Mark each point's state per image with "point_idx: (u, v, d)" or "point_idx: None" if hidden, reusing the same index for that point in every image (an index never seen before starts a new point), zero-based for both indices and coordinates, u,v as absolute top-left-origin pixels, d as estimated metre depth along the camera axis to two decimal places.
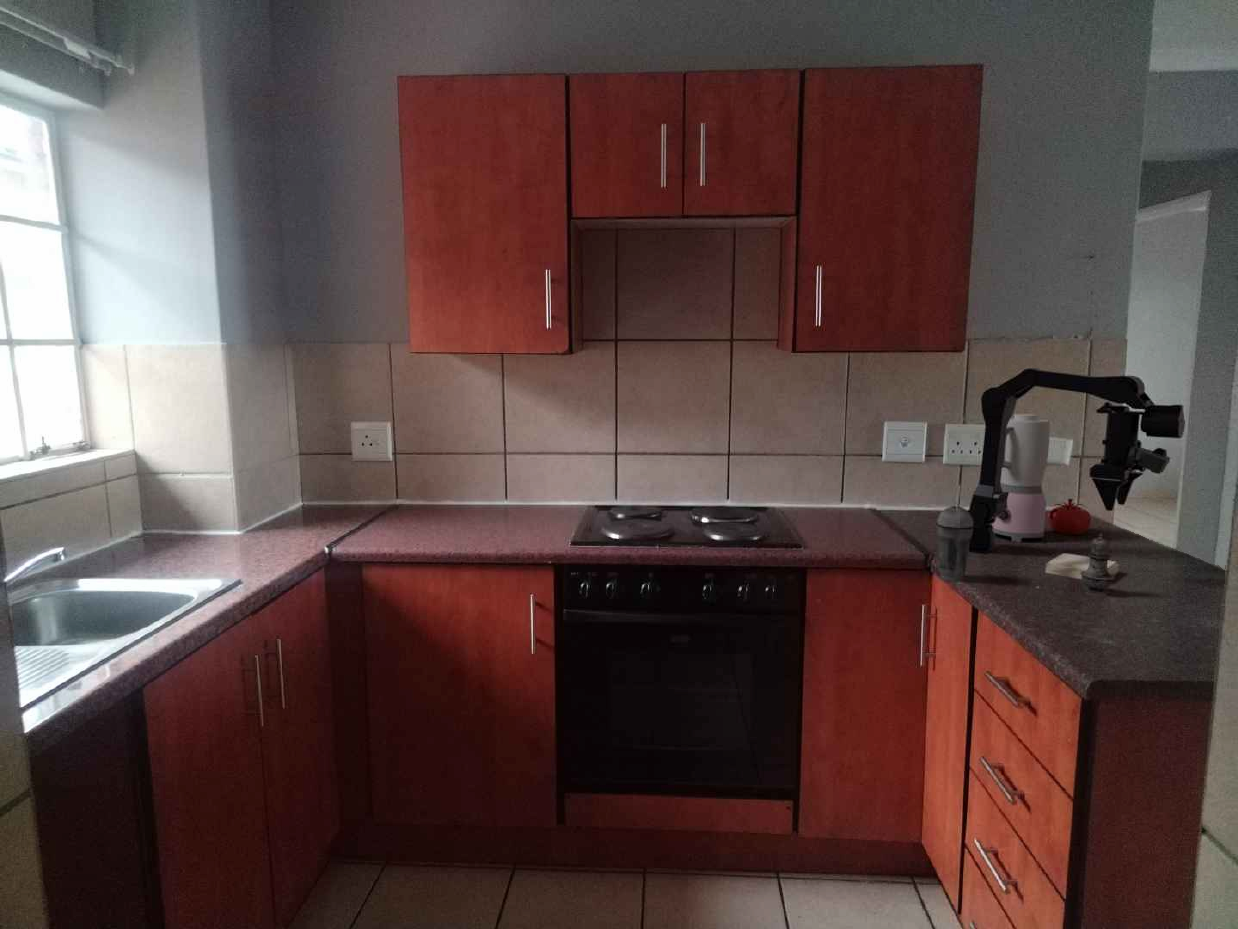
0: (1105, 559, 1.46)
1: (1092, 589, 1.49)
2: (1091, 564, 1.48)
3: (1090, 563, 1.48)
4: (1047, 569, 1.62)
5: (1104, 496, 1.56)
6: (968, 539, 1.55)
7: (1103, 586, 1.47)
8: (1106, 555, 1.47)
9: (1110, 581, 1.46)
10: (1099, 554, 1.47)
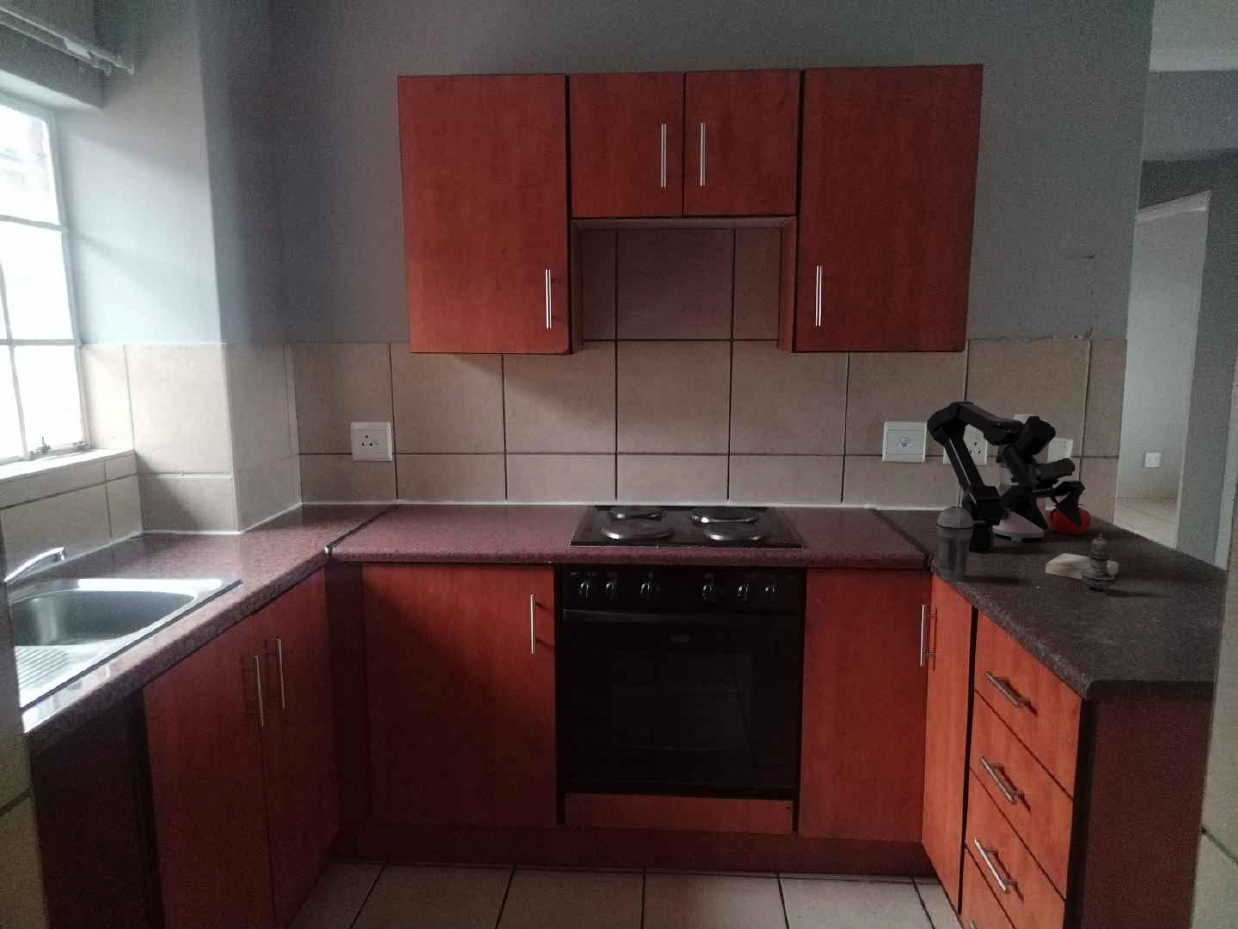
0: (1105, 559, 1.46)
1: (1092, 589, 1.49)
2: (1091, 564, 1.48)
3: (1090, 563, 1.48)
4: (1047, 569, 1.62)
5: (1032, 519, 1.56)
6: (968, 539, 1.55)
7: (1103, 586, 1.47)
8: (1106, 555, 1.47)
9: (1110, 581, 1.46)
10: (1099, 554, 1.47)
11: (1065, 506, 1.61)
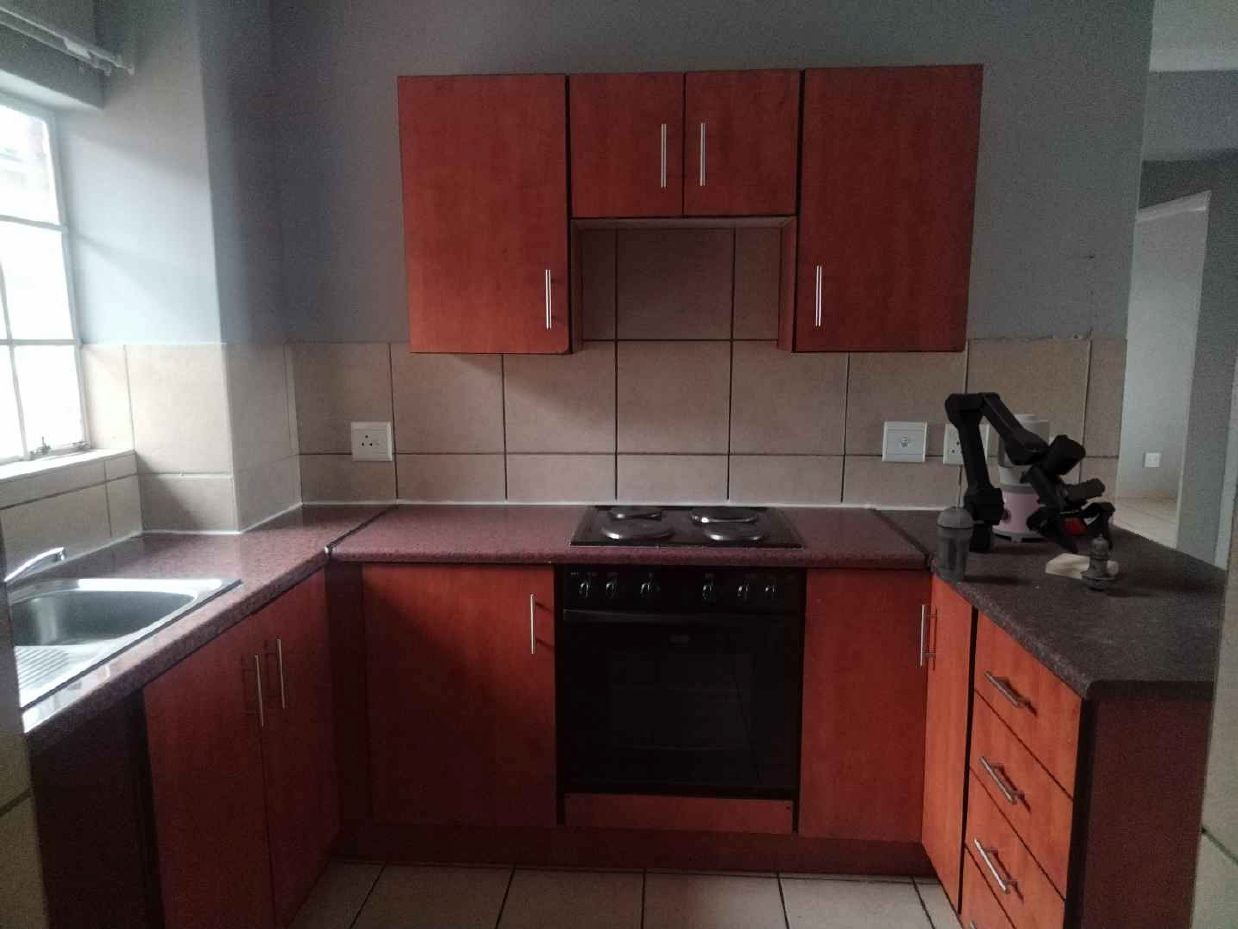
0: (1105, 559, 1.46)
1: (1092, 589, 1.49)
2: (1091, 564, 1.48)
3: (1090, 563, 1.48)
4: (1047, 569, 1.62)
5: (1061, 542, 1.50)
6: (968, 539, 1.55)
7: (1103, 586, 1.47)
8: (1106, 555, 1.47)
9: (1110, 581, 1.46)
10: (1099, 554, 1.47)
11: (1094, 529, 1.54)
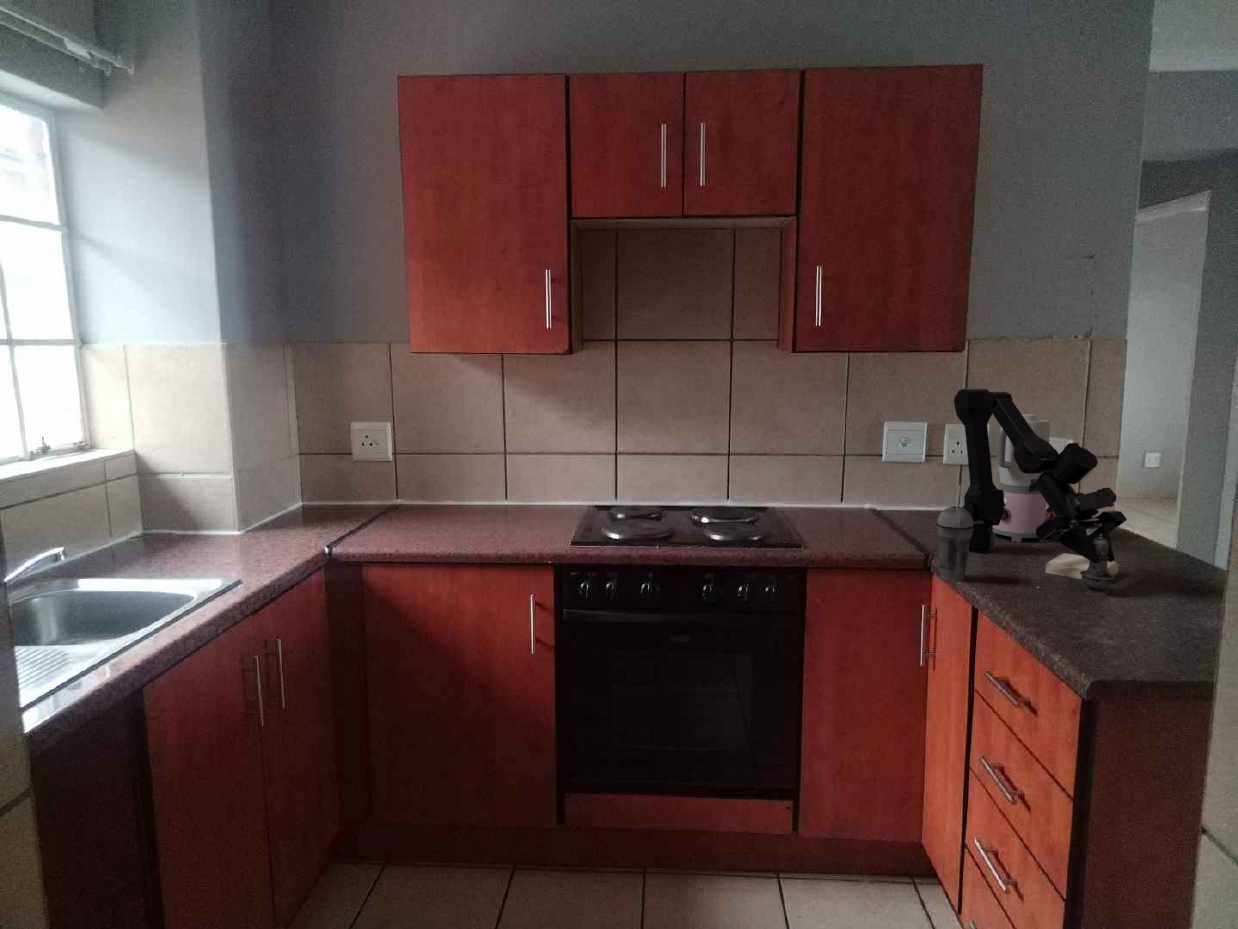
0: (1105, 559, 1.46)
1: (1092, 589, 1.48)
2: (1091, 564, 1.48)
3: (1090, 563, 1.48)
4: (1047, 569, 1.62)
5: (1081, 552, 1.48)
6: (968, 539, 1.55)
7: (1103, 586, 1.47)
8: (1106, 555, 1.47)
9: (1110, 581, 1.46)
10: (1099, 554, 1.47)
11: None
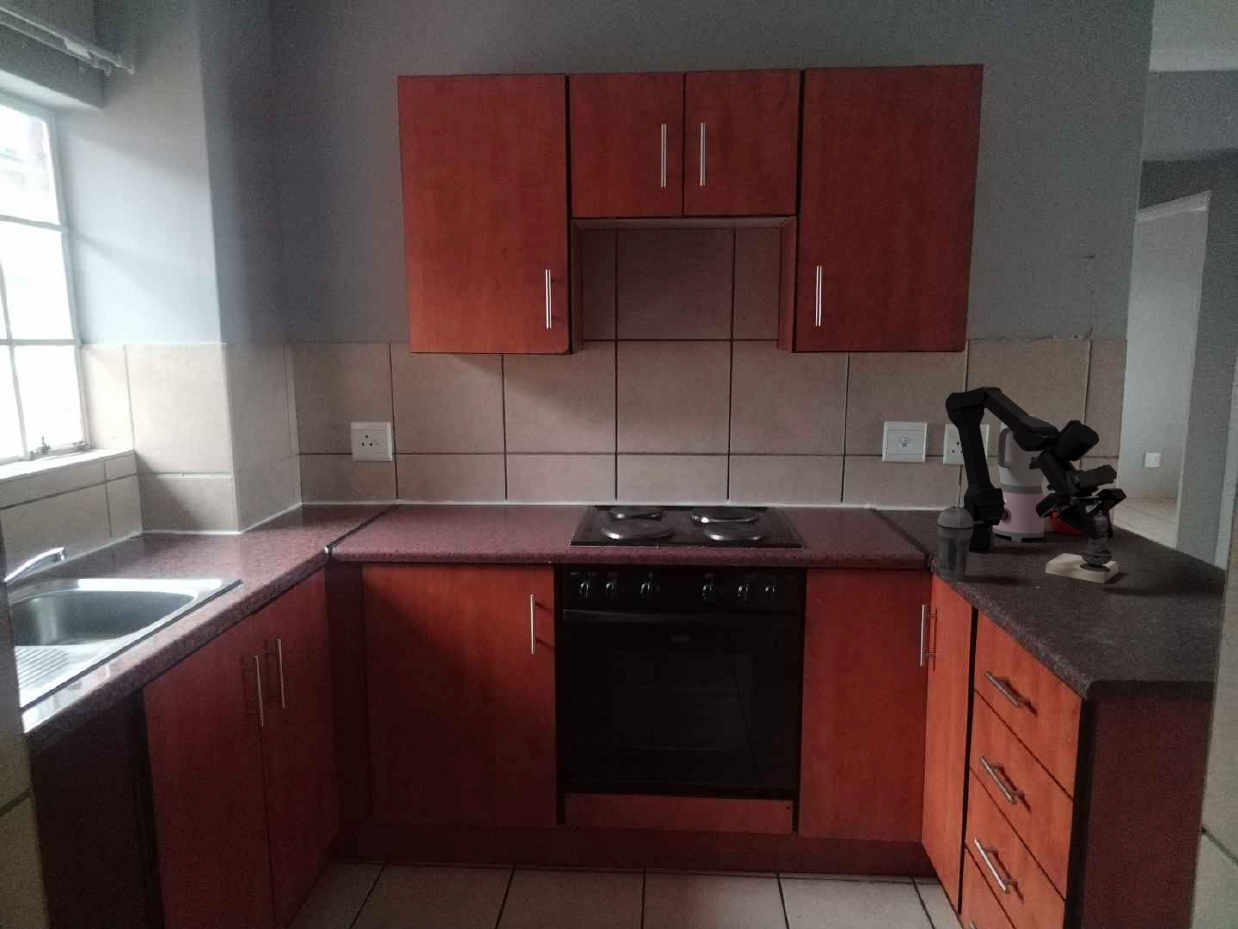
0: (1104, 535, 1.47)
1: (1091, 565, 1.49)
2: (1090, 540, 1.49)
3: (1089, 540, 1.49)
4: (1047, 569, 1.62)
5: (1081, 528, 1.49)
6: (968, 539, 1.55)
7: (1102, 562, 1.47)
8: (1106, 531, 1.47)
9: (1109, 557, 1.47)
10: (1099, 531, 1.47)
11: None
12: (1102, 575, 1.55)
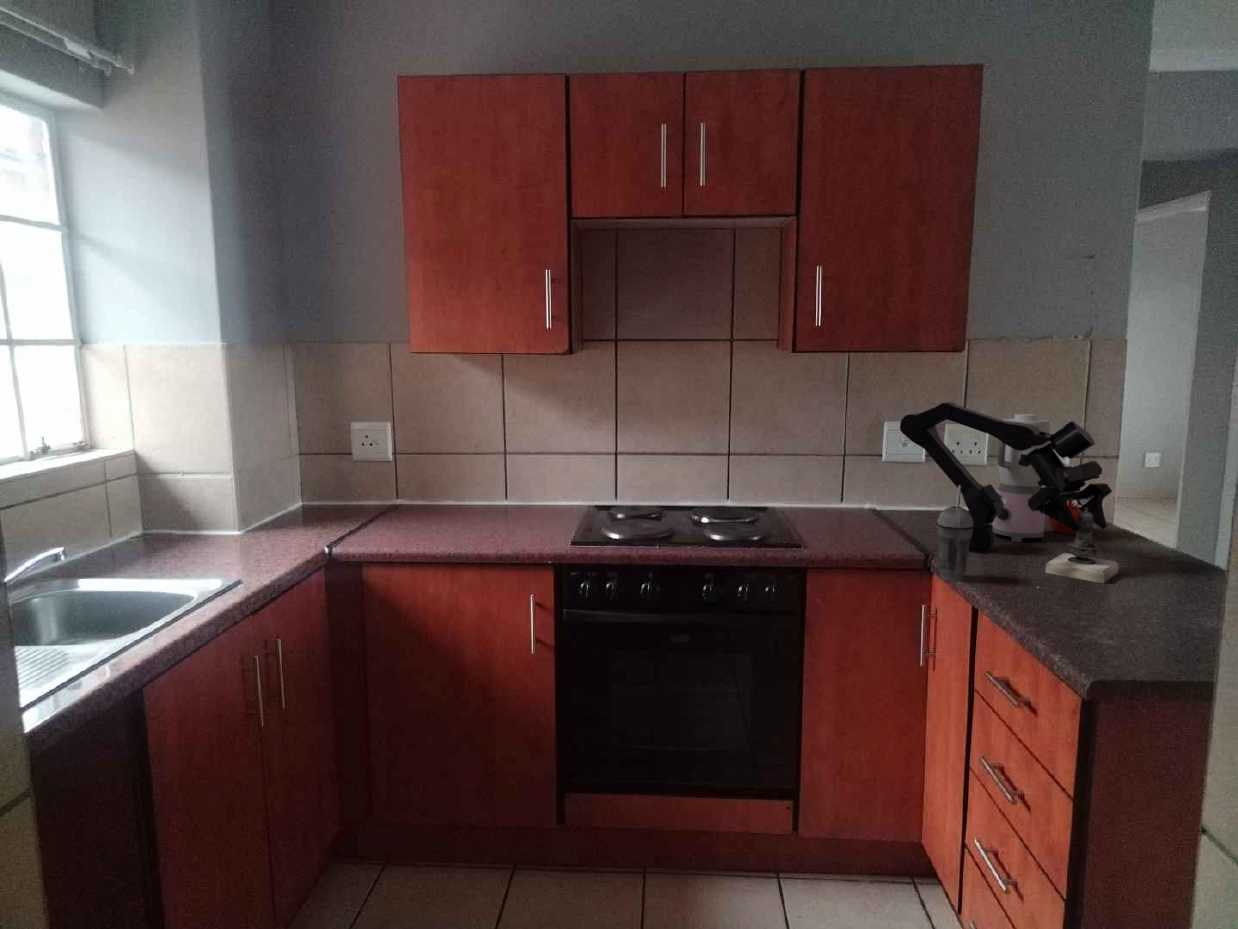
0: (1090, 530, 1.59)
1: (1078, 558, 1.61)
2: (1077, 535, 1.61)
3: (1076, 534, 1.61)
4: (1047, 569, 1.62)
5: (1063, 521, 1.60)
6: (968, 539, 1.55)
7: (1088, 555, 1.59)
8: (1091, 527, 1.60)
9: (1094, 551, 1.59)
10: (1085, 526, 1.60)
11: (1089, 509, 1.64)
12: (1102, 575, 1.55)
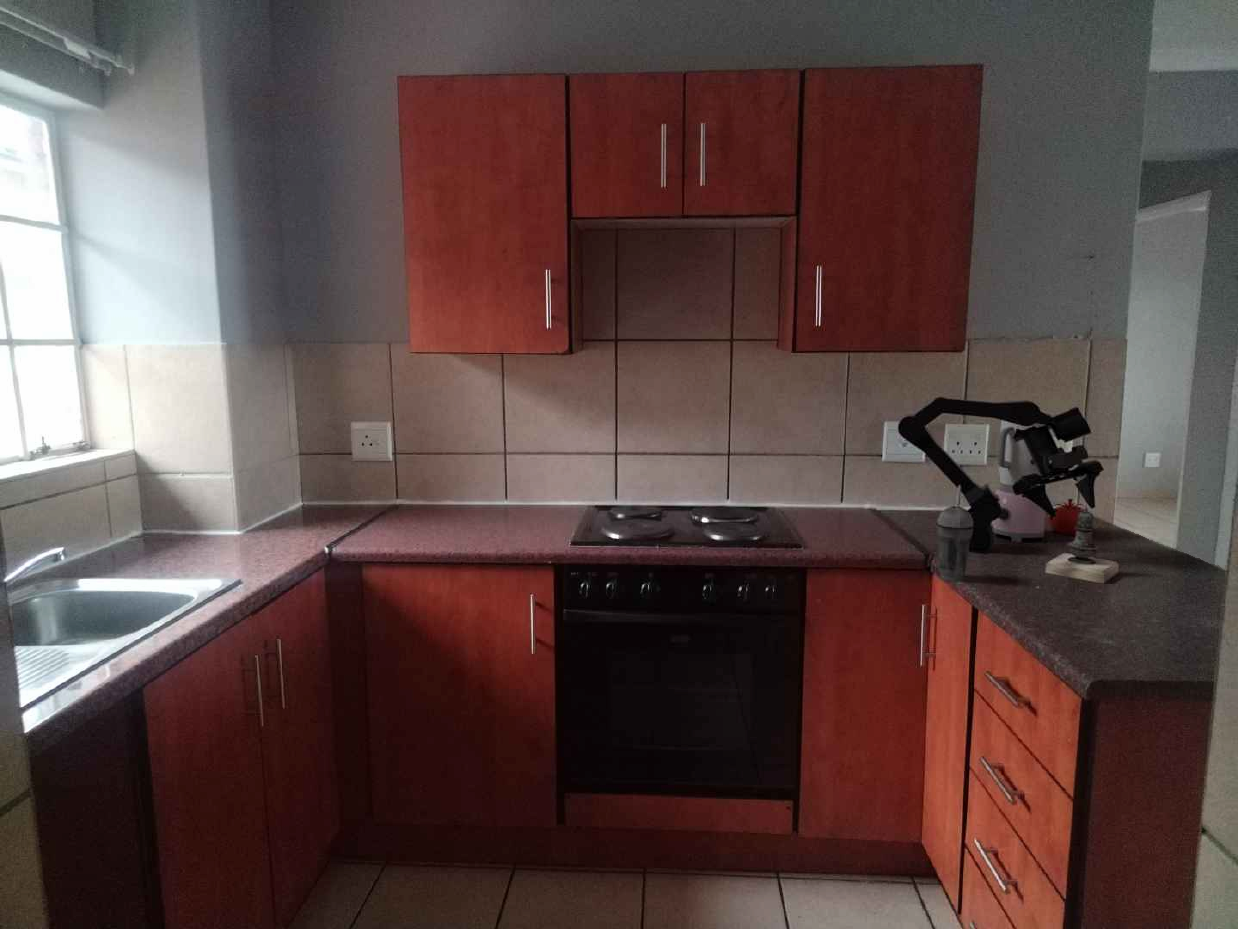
0: (1090, 530, 1.59)
1: (1078, 558, 1.61)
2: (1077, 535, 1.61)
3: (1076, 535, 1.61)
4: (1047, 569, 1.62)
5: (1042, 506, 1.68)
6: (968, 539, 1.55)
7: (1088, 555, 1.59)
8: (1091, 527, 1.60)
9: (1094, 551, 1.59)
10: (1084, 526, 1.60)
11: (1082, 487, 1.69)
12: (1102, 575, 1.55)
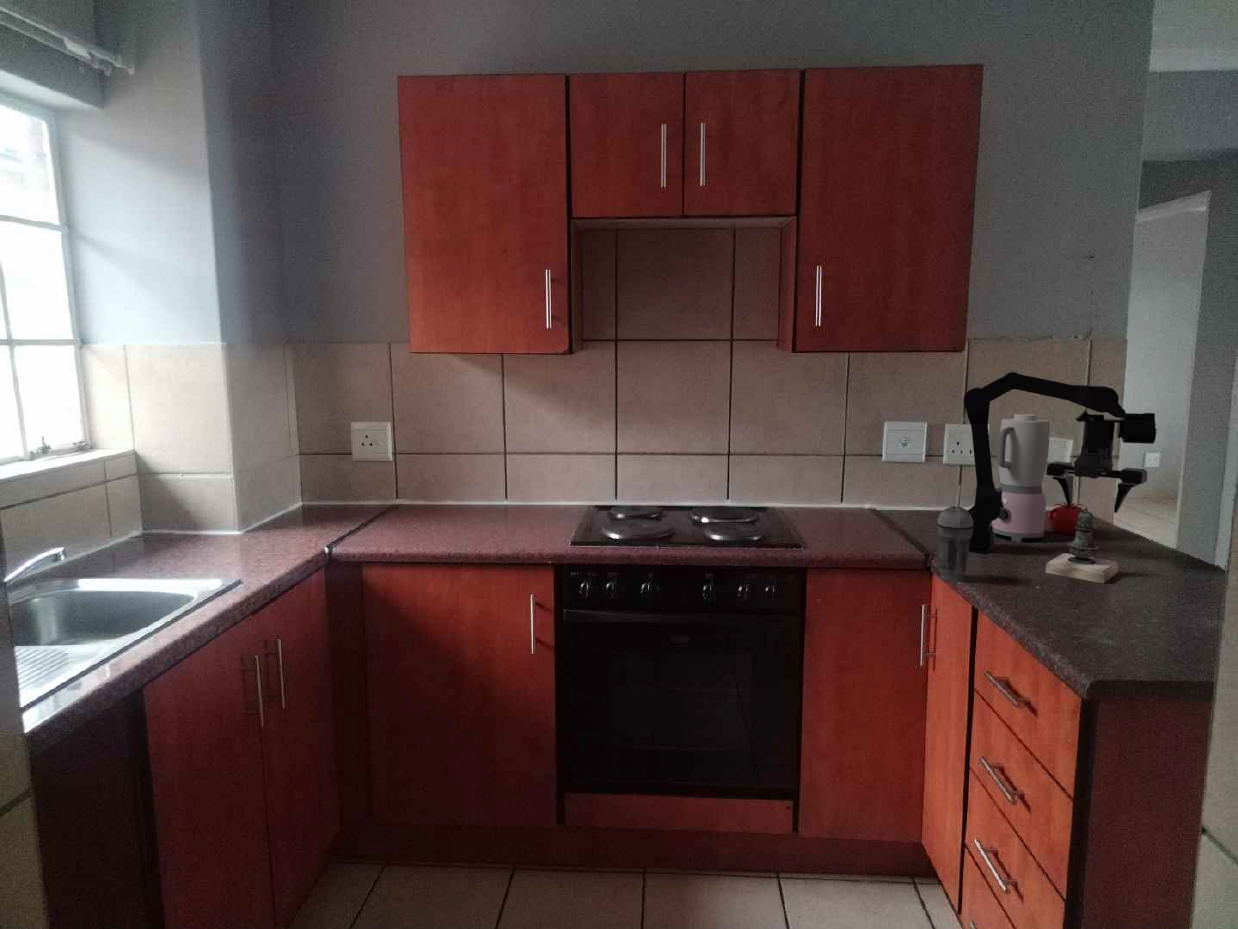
0: (1090, 530, 1.59)
1: (1078, 558, 1.61)
2: (1077, 535, 1.61)
3: (1076, 535, 1.61)
4: (1047, 569, 1.62)
5: None
6: (968, 539, 1.55)
7: (1088, 555, 1.59)
8: (1091, 527, 1.60)
9: (1094, 551, 1.59)
10: (1084, 526, 1.60)
11: None
12: (1102, 575, 1.55)
